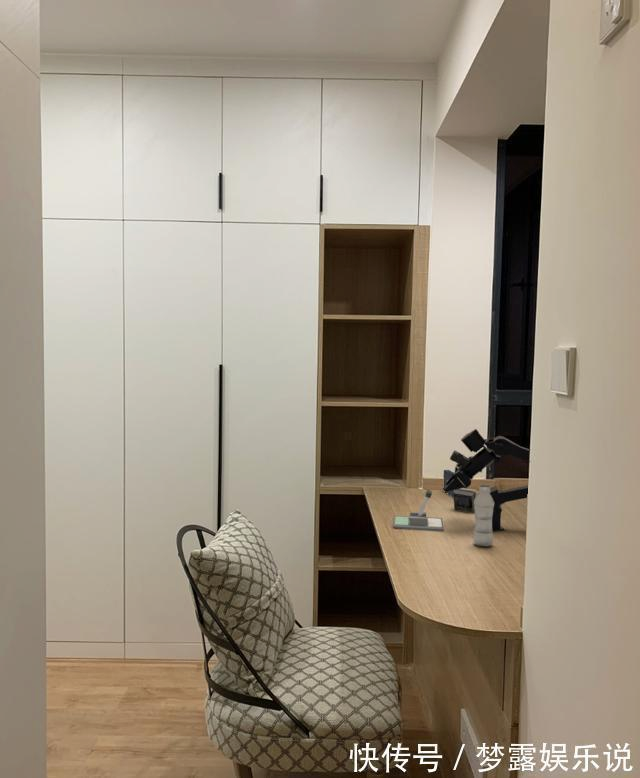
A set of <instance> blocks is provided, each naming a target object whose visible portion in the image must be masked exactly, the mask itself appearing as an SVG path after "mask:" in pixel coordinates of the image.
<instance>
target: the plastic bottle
mask: <svg viewBox="0 0 640 778" xmlns="http://www.w3.org/2000/svg"><path fill="white" fill-rule="evenodd" d="M490 489H491V486H490V485H486V484H482V485H481V484H480V485H479V486H478V491H477V492H479V493H477V496H476V498H475V500H474V508H475V511H474V517H475V520H474V530H473V534H472V540H473V541H472V542H473V543H474V544H475V545H476V546H479V547H491V546H492V544H493V543H494V532H493V531H492V515H493V508H494V500H493V498H492V496H491V495H490V492H491V490H490Z"/></svg>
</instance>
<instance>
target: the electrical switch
mask: <svg viewBox="0 0 640 778" xmlns="http://www.w3.org/2000/svg"><path fill="white" fill-rule="evenodd" d="M477 495H478V491H477V490H476V489H472V488H471V489H470V488H467V489H465V488H461V489H456V490H454V493H453V497H452V498H453V505H454V507H453V508H454V511H459V510H460V511H459V512H464V511H466V513H470V512H471V514H474V513H475V508H474V500H475V498H476V496H477ZM465 509H466V510H465Z"/></svg>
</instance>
